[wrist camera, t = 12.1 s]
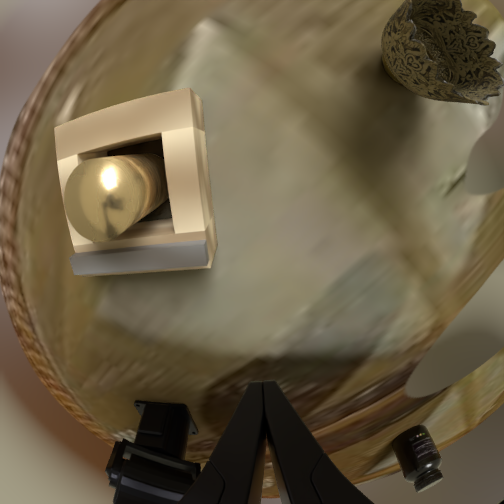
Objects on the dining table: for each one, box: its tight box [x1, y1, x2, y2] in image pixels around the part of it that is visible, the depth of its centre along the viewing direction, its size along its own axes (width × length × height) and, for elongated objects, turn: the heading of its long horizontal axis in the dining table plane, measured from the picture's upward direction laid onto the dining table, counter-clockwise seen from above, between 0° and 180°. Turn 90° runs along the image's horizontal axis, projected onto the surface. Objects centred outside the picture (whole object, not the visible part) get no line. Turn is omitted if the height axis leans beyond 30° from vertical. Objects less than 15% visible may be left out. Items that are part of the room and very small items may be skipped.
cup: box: [382, 0, 504, 105], centre depth 10 cm, size 8×7×8 cm
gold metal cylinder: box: [64, 153, 169, 242], centre depth 14 cm, size 4×4×7 cm
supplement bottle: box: [392, 425, 443, 493], centre depth 26 cm, size 7×7×12 cm
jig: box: [55, 88, 218, 277], centre depth 15 cm, size 10×9×5 cm
